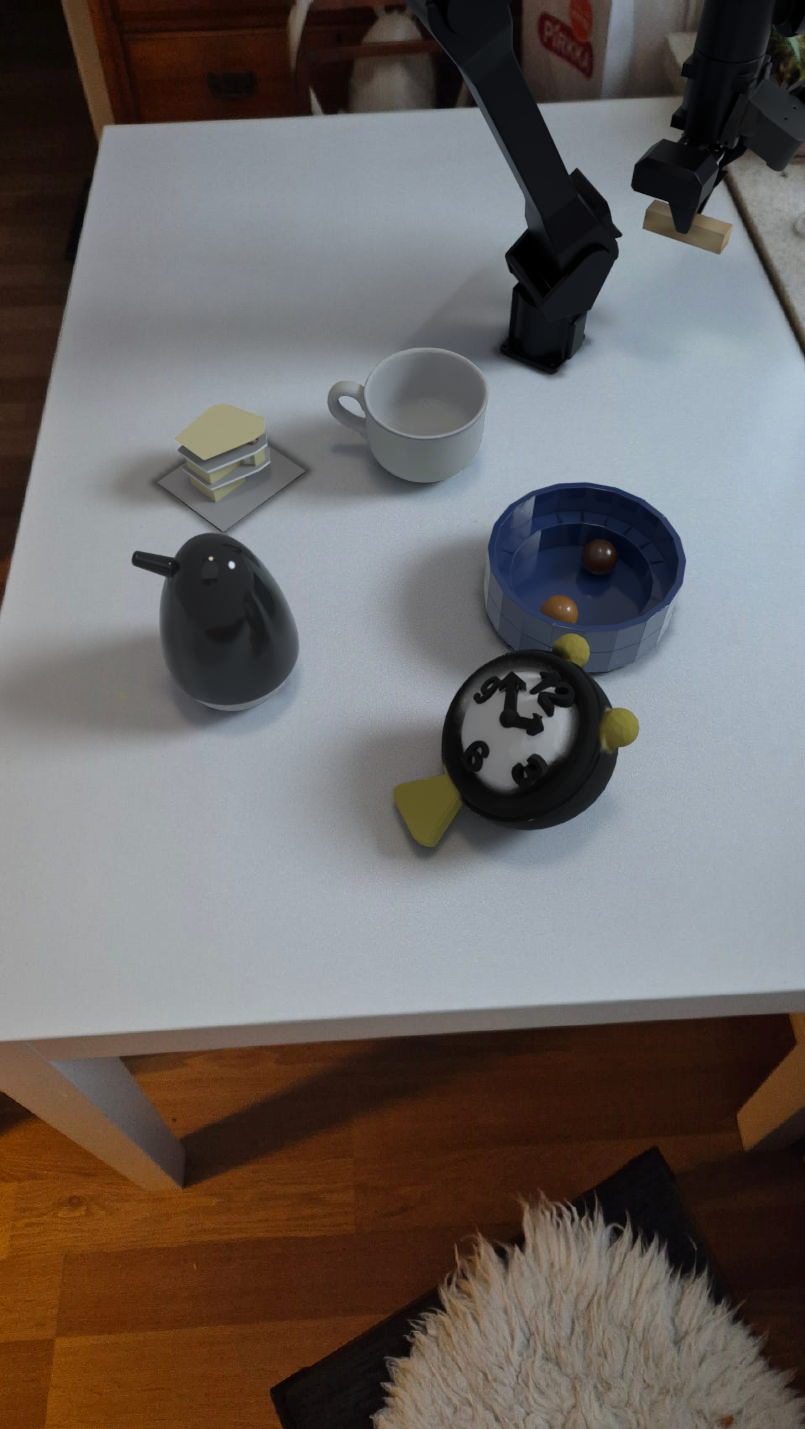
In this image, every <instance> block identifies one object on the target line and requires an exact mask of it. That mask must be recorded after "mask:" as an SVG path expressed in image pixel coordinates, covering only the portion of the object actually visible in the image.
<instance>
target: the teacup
mask: <svg viewBox="0 0 805 1429" xmlns="http://www.w3.org/2000/svg"><path fill="white" fill-rule="evenodd" d="M341 397H348V398H352V399H354V400H355V401H356V402H357V403H358V404H359V407H360V408H361V410H362V411H363V412H364V415H365V417H361V416H359V415H356V414H355V413H353V412H352V411H350V410H348V409H347V408H346V407H344V406H343V404H341V402H340V400H339V399H340V398H341ZM488 402H489V385H488V380H487V379H486V377H485V375H484V373H483V372H482V371H481V369H480V368H479V367H478V366H477V365H476V364H474V362H473V361H470V360H469V359H468V358H467V357H465V356H463V355H461V354H459V353H456V352H453V351H451V350H448V349H443V348H438V347H430V346H429V347H427V346H426V347H413V348H408V349H403V350H400V351H397V352H394V353H393V354H390V355H388V356H387V357H385V358H383V359H382V360H381V361H379V362H378V363H377V364H376V365H375V366H374V367H373V368H372V370H371V371H370V372H369V374H368V376H367V377H366V380H365V382H364V385H362V384H361V383H359V382H356V381H353V380H348V379H343V380H339V381H337V382H336V383H334V384H332V386H331V388H330V389H329V391H328V393H327V401H326V403H327V407H328V411H329V413H330V414H331V415H332V417H333V418H334V419H335V420H336V421H337V422H339V423H340V424H342V425H343V426H345V427H346V428H349V429H351V430H353V431H355V432H357V433H359V435H360V436H361V437H362V438H363V439H364V440H367V441H368V444H369V447H370V450H371V453H372V454H373V456H374V458H375V460H376V461H377V463H378V464H379V465H380V466H381V467H382V468H384V469H385V470H386V471H387V472H389V473H390V474H392V475H393V476H395V477H398V478H400V479H402V480H405V481H409V482H413V483H414V482H415V483H435V482H441V481H445V480H448V479H450V478H452V477H454V476H456V475H458V474H459V473H461V472H462V471H464V470H465V469H466V468H467V467H468V466H469V465H470V464H471V463H472V462H473V460H474V459H475V457H476V456H477V454H478V453H479V450H480V448H481V444H482V440H483V435H484V430H485V422H486V411H487V406H488Z"/></svg>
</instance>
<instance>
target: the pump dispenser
mask: <svg viewBox="0 0 805 1429" xmlns="http://www.w3.org/2000/svg"><path fill="white" fill-rule="evenodd" d="M130 560H131V564H132V566H133V567H135V568H139V569H142V570H145V571H146V572H147V571H148V572H149V573H153V574H156V575H159V576H162V577H164V581H163V584H162V588H161V594H160V600H159V608H158V609H159V610H158V624H159V625H158V627H159V639H160V646H161V652H162V657H163V660H164V664H165V668H166V669H167V671H168V674H169V676H170V678H171V679H172V681H173V682H174V683H175V686H177V688H179V689H180V690H181V691H182V692H184V693H185V694H186V695H188V697H191V698H193V699H194V700H195V701H197V702H198V703H201V704H203V705H204V706H206V707H209V708H212V709H215V710H220V711H227V712H237V711H244V710H249V709H252V708H256V707H258V706H260V705H262V704H263V703H266V702H267V701H268V700H270V699H272V698H273V697H274V696H275V695H276V694H277V693H279V691H280V690H281V689H282V688H283V687H284V685H285V684H286V682H287V681H288V679H289V677H290V675H291V673H292V671H293V670H294V668H295V666H296V664H297V661H298V658H299V653H300V636H299V631H298V626H297V623H296V620H295V617H294V614H293V611H292V609H291V607H290V604H289V602H288V600H287V598H286V595H285V594H284V591H283V590H282V588H281V586H280V585H279V583H278V582H277V580H276V578H275V577H274V575H273V574H272V573H271V571H270V570H269V569H268V567H267V566H266V565H265V564H264V563H263V561H262V560H261V559H260V558H259V557H258V556H257V555H256V554H255V552H253V550H251V549H250V548H249V547H248V546H247V545H245V544H244V543H243V542H241V541H239V540H238V539H236V538H234V537H232V536H230V535H227V534H225V533H220V532H204V533H200V534H196V535H194V536H192V537H191V538H189V539H187V541H184V543H183V544H182V545H181V547H180V548H179V549H178V550H177V552H176V553H175V555H174V556H168V555H163V554H157V553H152V552H147V551H141V550H135V551H133V553H132V555H131V559H130Z"/></svg>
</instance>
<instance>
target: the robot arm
mask: <svg viewBox="0 0 805 1429" xmlns="http://www.w3.org/2000/svg"><path fill="white" fill-rule="evenodd" d="M403 1H404V2H405V3H406V5H407V6H408V8H410V10H411V11H412V12H413V14H414V15H415V16H416V17H417V18H418V20H419V21H420V22H421V23H422V24H423V26H424V27H425V28H426V29H427V32H429V33H430V35H431V36H432V37H433V39H435V41H436V42H437V43H438V45H439V46H440V47H441V48H442V49H443V50H444V51H445V53H446V55H448V57H449V58H450V59H451V61H453V63H454V64H455V65H456V66H457V68H458V70H459V72H460V74H461V76H462V78H463V80H464V82H465V84H466V86H467V87H468V90H469V91H470V93H471V95H472V97H473V100H474V102H475V103H476V105H477V107H478V109H479V111H480V113H481V115H482V117H483V118H484V119H483V120H484V121H485V122H486V124H487V126H488V129H489V130H490V132H491V134H492V137H493V138H494V140H495V142H496V144H497V146H498V148H499V150H500V152H501V153H502V156H503V157H504V160H505V162H506V163H507V166H508V167H509V169H510V171H511V173H512V175H513V177H514V179H515V181H516V183H517V185H518V187H519V189H520V191H521V193H522V194H523V198H524V220H525V223H526V226H527V228H526V229H525V230H524V231H523V232H522V234H521V235H519V237H518V238H517V239H516V241H515V242H514V243H513V244H512V245H511V246H510V247H509V248H508V250H506V252H505V253H504V260H505V263H506V267H507V269H508V271H509V273H510V274H511V275H513V277H514V278H515V279H516V281H517V283H516V284H515V285H514V286H513V287H512V292H511V301H510V302H511V303H510V312H509V323H508V332H507V333H508V336H507V337H506V338H505V339H504V340H503V341H502V343H501V344H500V345H499V352H500V353H501V354H503V355H506V356H509V357H511V358H513V359H516V360H519V361H521V362H524V363H526V364H527V365H528V364H529V365H531V366H533V367H536V368H539V369H541V370H543V371H545V372H548V373H550V374H556V373H558V372H559V371H560V370H561V369H562V367H563V366H565V364H566V363H567V362H568V361H570V360H572V358H573V357H574V356H575V355H576V353H577V352H578V351H579V350H580V349H581V347H583V343H584V341H585V339H586V334H585V330H586V324H587V318H588V312H589V311H591V310H592V308H593V307H594V304H595V303H596V300H597V299H598V297H599V294H600V292H601V290H602V289H603V286H604V284H605V282H606V281H607V278H608V277H609V274H610V272H611V271H612V268H613V266H614V264H615V262H616V261H617V260H618V259H619V256H620V248H619V243H618V241H617V239H621V238H622V237H623V233H622V231H620V229H619V228H618V227H617V226H616V224H614V222H613V216H612V212H611V208H610V205H609V203H608V200H606V198H605V197H604V196H603V195H602V194H601V193H600V192H599V190H598V189H597V188H596V187H595V186H594V185H593V184H592V182H591V181H590V180H589V179H588V178H587V177H586V176H585V174H584V173H583V172H582V171H581V170H580V169H579V167H575V168H574V169H573V170H572V171H571V173H569V172H568V169H567V167H566V165H565V163H564V161H563V159H562V158H563V157H562V156H561V153H560V152H559V149H558V147H557V145H556V143H555V141H554V138H553V137H552V134H551V131H550V129H549V128H548V126H547V123H546V121H545V118H544V117H543V114H542V112H541V110H540V107H539V106H538V103H537V101H536V99H535V96H534V95H533V92H532V89H531V88H530V85H529V84H528V81H527V79H526V77H525V75H524V72H523V70H522V68H521V66H520V64H519V61H518V59H517V56H516V55H515V50H514V46H513V45H514V44H513V38H514V35H513V34H514V32H513V30H514V29H513V27H514V26H513V24H514V23H513V16H512V12H511V8H510V4H511V3H512V1H514V0H403ZM772 29H774V31H776V33H777V34H778V35H779V36H780V37H783V38H786V39H789V38H795V37H800V36H804V35H805V0H703V4H702V8H701V13H700V18H699V23H698V27H697V30H696V31H697V32H696V37H695V41H694V45H693V50H692V53H691V54H690V55H689V56H688V57H687V58H686V59H685V60H684V61H683V62H682V67H681V71H680V77H682V78H686V83H685V87H684V92H683V97H682V102H681V105H680V106H679V107H678V108H677V109H676V110H675V111H674V112H673V113H672V115H671V120H670V124H669V127H670V128H673V129H677V130H679V131H682V133H681V137H680V138H679V139H678V140H676V141H674V140H670V139H667V138H662V139H660V140H658V141H657V142H656V143H654V144H653V145H651V146H650V147H649V148H648V149H647V150H646V152H644V154H643V155H642V156H641V157H639V159H638V160H637V161H636V162H635V163H634V166H633V171H632V177H631V182H630V187H631V189H632V191H633V192H636V193H638V194H642V195H644V196H648V197H651V198H654V199H656V200H659V201H662V202H665V203H668V204H669V206H670V210H671V214H672V218H673V221H674V225H675V229H676V231H677V232H679V233H682V234H687V233H688V232H689V229H690V227H691V225H692V223H693V221H694V218H695V216H696V214H697V213H698V214H702V213H703V212H704V210H705V207H706V206H707V204H708V202H709V200H710V198H711V196H712V194H713V192H714V190H715V188H718V186H719V185H720V183H721V182H722V181H723V180H724V178H726V176H727V175H728V174H729V171H728V170H725V169H726V168H727V166H728V165H730V164H731V163H733V162H734V161H736V160H738V159H739V158H741V157H743V156H744V155H745V153H746V152H747V151H748V150H750V151H751V152H752V153H754V154H755V155H756V156H758V157H759V158H760V159H762V160H763V161H764V162H765V165H766V166H767V168H769V169H770V170H772V171H774V172H783V171H784V170H785V169H787V166H788V165H789V164H790V163H791V161H792V160H793V159H794V157H795V156H796V155H797V154H798V153H799V151H800V150H801V148H802V147H803V146H804V144H805V77H804V78H802V79H800V80H798V81H797V82H796V83H794V84H792V85H791V86H790V87H788V86H789V84H788V83H786V82H783V84H782V85H779V82H778V80H777V78H775V77H772V76H770V74H771V70H772V67H773V62H772V61H771V58H772V56H771V55H769V54H766V52H767V47H768V44H769V40H770V38H771V37H770V36H771V33H772ZM702 215H703V214H702Z"/></svg>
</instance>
